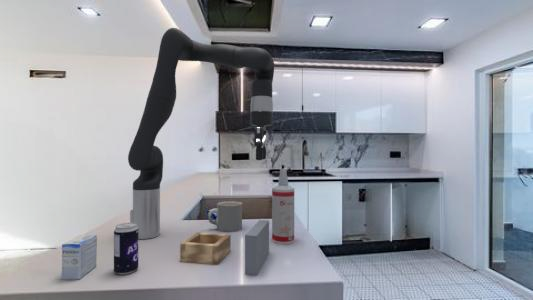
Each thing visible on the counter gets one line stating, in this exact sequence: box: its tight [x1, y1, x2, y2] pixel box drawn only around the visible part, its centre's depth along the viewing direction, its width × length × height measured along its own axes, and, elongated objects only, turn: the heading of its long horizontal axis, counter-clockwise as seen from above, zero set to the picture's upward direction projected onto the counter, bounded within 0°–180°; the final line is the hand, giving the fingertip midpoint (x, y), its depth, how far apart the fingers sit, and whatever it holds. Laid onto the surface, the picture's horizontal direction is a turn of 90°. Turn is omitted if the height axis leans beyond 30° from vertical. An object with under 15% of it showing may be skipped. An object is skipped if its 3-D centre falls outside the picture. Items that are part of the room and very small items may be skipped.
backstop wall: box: [244, 219, 270, 277], centre depth 79 cm, size 3×16×10 cm, turn 168°
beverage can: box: [113, 222, 139, 276], centre depth 73 cm, size 6×6×12 cm
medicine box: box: [61, 234, 98, 281], centre depth 73 cm, size 8×4×9 cm, turn 5°
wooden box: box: [179, 232, 232, 266], centre depth 84 cm, size 11×11×5 cm
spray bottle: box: [271, 168, 295, 246], centre depth 98 cm, size 8×8×25 cm
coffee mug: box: [207, 201, 243, 233], centre depth 114 cm, size 13×10×10 cm
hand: (261, 159), depth 96 cm, fingers open, 8 cm apart
